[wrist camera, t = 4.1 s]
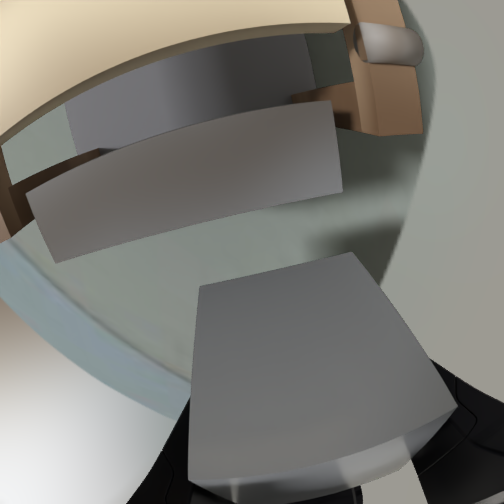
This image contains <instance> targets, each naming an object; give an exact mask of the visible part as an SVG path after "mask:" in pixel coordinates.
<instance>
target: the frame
mask: <svg viewBox="0 0 504 504" xmlns="http://www.w3.org/2000/svg"><path fill="white" fill-rule="evenodd" d="M344 2H345V5H346V9H347V12H348V15H349V19H350V22H351V23H350V24H349V25H347V26H345V27H344V28H342V29H343V33H344V37H345V41H346V45H347V49H348V54H349V58H350V63H351V68H352V73H353V78H354V82H349V83H343V84H338V85H333V86H328V87H323V88H318V89H314V90H309V91H305V92H301V93H297V94H293V95H291V97H292V102H293V104H296V103H305V102H316V101H328V100H331V104H332V110H333V116H334V122H335V127H338V128H343V129H348V130H353V131H358V132H363V133H367V134H372V135H376V136H390V135H405V134H423V124H422V114H421V105H420V97H419V89H418V83H417V77H416V71H415V66H416V65H418V64H419V63H420V62H421V61H422V59H423V55H424V47H423V43H422V40H421V38H420V36H419V35H418V33H417V32H415V31H414V30H412V29H409V28H406V27H405V23H404V20H403V16H402V13H401V10H400V7H399V4H398V1H397V0H344ZM99 156H101V155H100V152H99V148H97V149H94V150H91V151H88V152H86V153H83V154H80V155H78V156H75V157H73V158H70V159H68V160H65V161H63V162H61V163H58V164H56V165H54V166H51V167H49V168H47V169H45V170H43V171H40V172H38V173H36V174H34V175H32V176H30V177H28V178H26V179H24V180H22V181H20V182H18V183H16V184H14V185H12V183H11V180H10V177H9V174H8V170H7V167H6V164H5V160H4V156H3V152H2V148H1V146H0V243H2V242H3V241H5V240H7V239H9V238H11V237H12V236H14V235H15V234H16V233H17V232H18V231H20V230H21V229H22V228H23V227H25V226H26V225H27V224H29V223H30V222H31V221H32V220H34V219H35V217H34V215H33V212H32V210H31V207H30V204H29V202H28V199H27V196H26V193H28V192H29V191H31V190H33V189H35V188H36V187H38V186H40V185H42V184H44V183H45V182H47V181H49V180H51V179H53V178H55V177H57V176H59V175H61V174H63V173H65V172H67V171H69V170H71V169H73V168H75V167H77V166H79V165H81V164H84V163H86V162H88V161H90V160H92V159H95V158H97V157H99Z"/></svg>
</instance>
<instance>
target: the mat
mask: <svg viewBox="0 0 504 504" xmlns="http://www.w3.org/2000/svg"><path fill="white" fill-rule="evenodd" d="M314 89H317V88H316V83H315V78H314V73H313V68H312V64H311V59H310V55H309V51H308V47H307V43H306V39H305V35H304V34H289V35H278V36H268V37H260V38H253V39H246V40H240V41H235V42H229V43H224V44H219V45H215V46H210V47H206V48H202V49H198V50H194V51H190V52H186V53H183V54H179V55H176V56H172V57H169V58H166V59H163V60H160V61H157V62H154V63H151V64H148V65H145V66H143V67H140V68H137V69H135V70H132V71H130V72H127V73H125V74H122V75H120V76H117V77H115V78H113V79H111V80H108V81H106V82H104V83H102V84H100V85H98V86H95V87H93V88H91V89H89V90H87V91H85V92H83V93H81V94H80V95H78V96H76V97H74V98H72V99H70V100H68V101H67V102H65V103H64V104H65V108H66V112H67V117H68V121H69V125H70V129H71V133H72V136H73V140H74V144H75V147H76V151H77V154H78V155H80V154H83V153H86V152H88V151H91V150H94V149H97V148H99V152H100V155H101V156H102V155H104V154H107V153H109V152H112V151H114V150H117V149H119V148H122V147H124V146H127V145H130V144H132V143H135V142H138V141H141V140H144V139H147V138H150V137H152V136H156V135H159V134H162V133H165V132H168V131H171V130H175V129H178V128H181V127H185V126H188V125H192V124H196V123H199V122H203V121H207V120H211V119H215V118H219V117H224V116H228V115H233V114H237V113H242V112H247V111H252V110H257V109H263V108H269V107H275V106H281V105H288V104H293V102H292V97H291V95H293V94H297V93H301V92H305V91H309V90H314Z"/></svg>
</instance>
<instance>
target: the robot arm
mask: <svg viewBox="0 0 504 504" xmlns="http://www.w3.org/2000/svg"><path fill="white" fill-rule="evenodd" d="M429 359H430V358H429ZM430 360H431V359H430ZM431 362H432V363H433V365H434V367H435V368H436V370H437V371H438V373H439V375H440V376H441V378H442V380H443V381H444V383H445V385H446V386H447V388H448V390H449V391H450V393H451V395H452V397H453V398H454V400H455V402H456V404H457V405H458V407H457V408H456V409H455V411H454V412H453V413H452V414H451V416H450V417H449V418H448V419H447V421H446V422H445V423H444V424H443V425H442V426H441V428H440V429H439V430H438V431H437V432H436V433H435V434H434V436H433V437H432V438H431V439H430V440H429V441H428V442H427V443H426V444H425V445H424V446H423V447H422V448H421V449H420V450H419V451H418V452H417V453H416V454H415V455H414V456H413V457H412V458H411V460H412V463H413V465H414V468H415V470H416V473H417V475H418V478H419V481H420V483H421V486H422V489H423V492H424V494H425V497H426V500H427V503H428V504H504V403H503V402H501V401H499V400H497V399H495V398H493V397H491V396H489V395H487V394H485V393H483V392H481V391H479V390H478V389H476V388H474V387H472V386H471V385H469V384H468V383H466V382H464V381H463V380H461V379H460V378H458V377H455V375H454V374H452V373H451V372H449V371H448V370H446V369H445V368H443V367H442V366H440V365H439V364H437V363H436V362H434V361H433V360H431ZM190 397H191V396H190ZM189 417H190V398H189V400H188V402H187V404H186V406H185V407H184V409H183V411H182V413H181V415H180V417H179V419H178V421H177V423H176V424H175V426H174V428H173V430H172V432H171V434H170V436H169V438H168V439H167V441H166V443H165V445H164V447H163V449H162V450H163V451H161V452H160V454H159V456H158V458H157V460H156V462H155V463H154V465H153V467H152V469H151V470H150V472H149V473H148V475H147V476H146V478H145V479H144V481H143V482H142V483H141V485H140V486H139V487H138V489H137V490H136V491H135V493H134V494H133V496H132V497H131V498H130V500H129V501H128V502H127V503H126V504H237V503H234V502H232V501H230V500H227V499H225V498H223V497H221V496H219V495H217V494H214V493H212V492H210V491H208V490H206V489H204V488H202V487H200V486H199V485H197V484H195V483H193V482H191V481H189V480H188V446H189ZM287 504H363V495H362V490H361V486H360V485H359V486H356V487H353V488H350V489H347V490H343V491H340V492H336V493H333V494H329V495H325V496H321V497H317V498H313V499H308V500H303V501H298V502H293V503H287Z"/></svg>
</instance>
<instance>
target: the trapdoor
mask: <svg viewBox="0 0 504 504" xmlns="http://www.w3.org/2000/svg"><path fill="white" fill-rule="evenodd" d="M350 23H351V22H350V19H349V15H348V12H347V9H346V5H345V2H344V0H0V146H1V145H3V144H4V143H5V142H6V141H8V140H9V139H10V138H12V137H13V136H14V135H16V134H17V133H18V132H20V131H21V130H22V129H24V128H25V127H27V126H28V125H30V124H31V123H33V122H34V121H36V120H37V119H39V118H40V117H42V116H43V115H45V114H46V113H48V112H50V111H51V110H53V109H55V108H56V107H58V106H60V105H61V104H63V103H65V102H67V101H68V100H70V99H72V98H74V97H76V96H78V95H80V94H81V93H83V92H85V91H87V90H89V89H91V88H93V87H95V86H98V85H100V84H102V83H104V82H106V81H108V80H111V79H113V78H115V77H117V76H120V75H122V74H125V73H127V72H130V71H132V70H135V69H137V68H140V67H143V66H145V65H148V64H151V63H154V62H157V61H160V60H163V59H166V58H169V57H172V56H176V55H179V54H183V53H186V52H190V51H194V50H198V49H202V48H206V47H210V46H215V45H219V44H224V43H229V42H235V41H240V40H246V39H253V38H260V37H268V36H278V35H289V34H305V33H335V32H337V31H339V30H340V29H342V28H344V27H345V26H347V25H349V24H350ZM341 192H343V187H342V177H341V168H340V159H339V151H338V143H337V135H336V129H335V122H334V116H333V110H332V104H331V100H328V101H316V102H305V103H296V104H288V105H281V106H275V107H269V108H263V109H257V110H252V111H247V112H242V113H237V114H233V115H228V116H224V117H219V118H215V119H211V120H207V121H203V122H199V123H196V124H192V125H188V126H185V127H181V128H178V129H175V130H171V131H168V132H165V133H162V134H159V135H156V136H152V137H150V138H147V139H144V140H141V141H138V142H135V143H132V144H130V145H127V146H124V147H122V148H119V149H117V150H114V151H112V152H109V153H107V154H104V155H102V156H99V157H97V158H95V159H92V160H90V161H88V162H86V163H84V164H81V165H79V166H77V167H75V168H73V169H71V170H69V171H67V172H65V173H63V174H61V175H59V176H57V177H55V178H53V179H51V180H49V181H47V182H45V183H44V184H42V185H40V186H38V187H36V188H35V189H33V190H31V191H29V192H28V193H26V196H27V199H28V202H29V204H30V207H31V210H32V212H33V215H34V217H35V220H36V222H37V224H38V227H39V229H40V231H41V234H42V236H43V238H44V240H45V243H46V245H47V247H48V249H49V251H50V253H51V255H52V257H53V259H54V261H55V263H59V262H62V261H65V260H68V259H72V258H75V257H78V256H81V255H85V254H88V253H91V252H95V251H98V250H102V249H105V248H109V247H112V246H116V245H119V244H123V243H126V242H130V241H133V240H137V239H141V238H144V237H148V236H152V235H156V234H159V233H163V232H167V231H171V230H175V229H179V228H182V227H186V226H190V225H194V224H198V223H202V222H207V221H211V220H215V219H219V218H223V217H227V216H232V215H236V214H240V213H245V212H249V211H254V210H258V209H263V208H267V207H272V206H276V205H281V204H286V203H291V202H295V201H300V200H305V199H310V198H315V197H320V196H325V195H331V194H336V193H341Z"/></svg>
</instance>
